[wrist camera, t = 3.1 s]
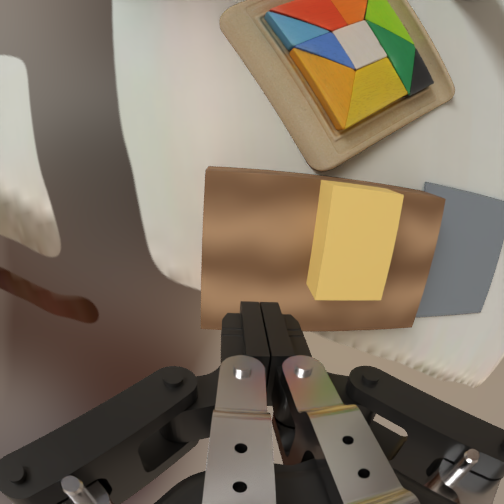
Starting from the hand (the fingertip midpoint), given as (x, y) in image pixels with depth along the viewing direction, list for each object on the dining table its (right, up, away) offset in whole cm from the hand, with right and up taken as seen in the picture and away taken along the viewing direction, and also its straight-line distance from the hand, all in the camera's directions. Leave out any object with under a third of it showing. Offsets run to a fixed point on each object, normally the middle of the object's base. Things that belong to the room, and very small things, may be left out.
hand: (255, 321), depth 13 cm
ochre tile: (+8, +4, +12) cm, 15 cm away
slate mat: (+25, +2, +20) cm, 32 cm away
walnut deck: (+6, +3, +18) cm, 19 cm away
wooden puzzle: (+9, +22, +12) cm, 26 cm away
